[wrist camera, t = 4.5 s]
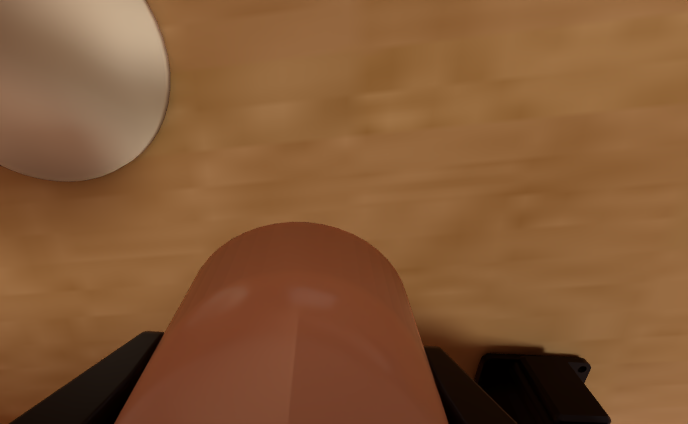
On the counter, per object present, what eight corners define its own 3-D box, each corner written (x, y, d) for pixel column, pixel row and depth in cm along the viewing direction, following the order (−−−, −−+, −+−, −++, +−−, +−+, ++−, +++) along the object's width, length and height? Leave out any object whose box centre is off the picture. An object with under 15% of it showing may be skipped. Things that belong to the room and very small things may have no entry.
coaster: (178, 185, 18) (173, 190, 18) (-52, 167, 17) (-65, 171, 17) (160, -72, 14) (153, -77, 14) (-137, -110, 13) (-157, -116, 13)
